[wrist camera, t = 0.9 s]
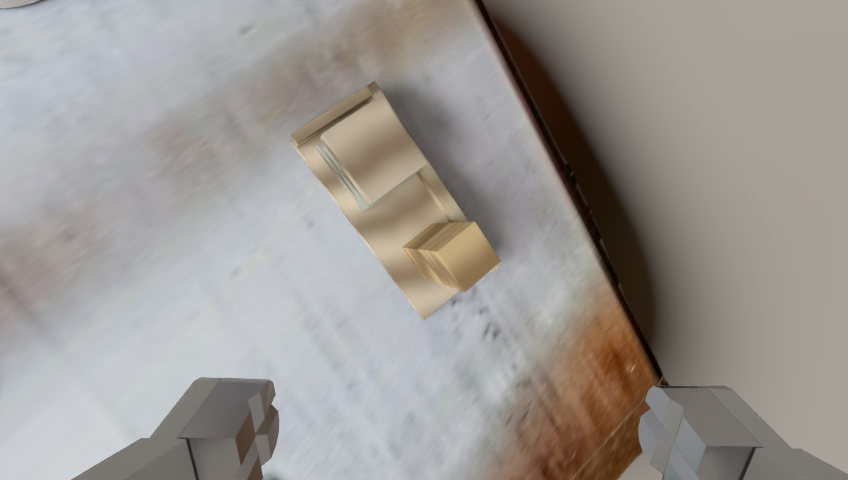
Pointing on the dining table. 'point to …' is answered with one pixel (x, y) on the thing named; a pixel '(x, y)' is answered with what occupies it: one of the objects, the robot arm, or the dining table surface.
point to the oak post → (452, 254)
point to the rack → (387, 207)
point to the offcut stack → (370, 153)
